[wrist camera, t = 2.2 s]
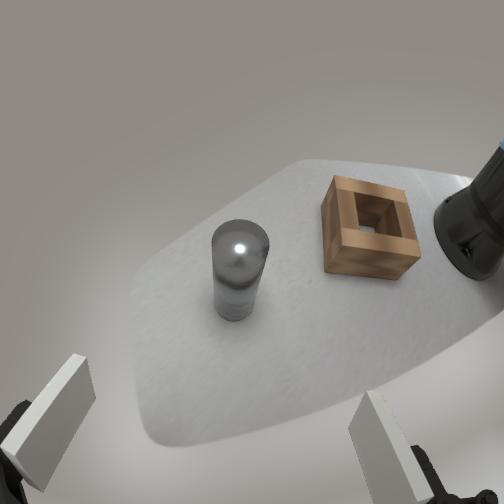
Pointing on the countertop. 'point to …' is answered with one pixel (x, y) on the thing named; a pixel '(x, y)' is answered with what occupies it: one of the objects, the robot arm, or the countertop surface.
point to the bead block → (367, 243)
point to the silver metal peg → (237, 266)
